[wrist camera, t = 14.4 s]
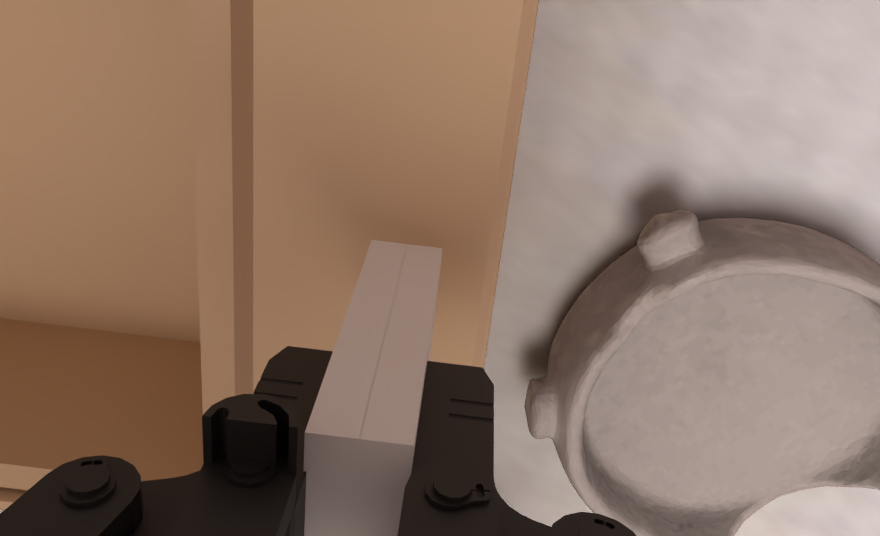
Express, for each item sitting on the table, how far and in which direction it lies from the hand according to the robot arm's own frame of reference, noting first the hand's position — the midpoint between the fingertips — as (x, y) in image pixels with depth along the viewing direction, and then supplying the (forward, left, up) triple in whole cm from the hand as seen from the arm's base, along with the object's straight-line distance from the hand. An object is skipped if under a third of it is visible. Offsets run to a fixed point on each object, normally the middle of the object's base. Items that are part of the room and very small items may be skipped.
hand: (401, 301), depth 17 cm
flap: (-4, 0, -4) cm, 6 cm away
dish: (+12, -8, -14) cm, 20 cm away
